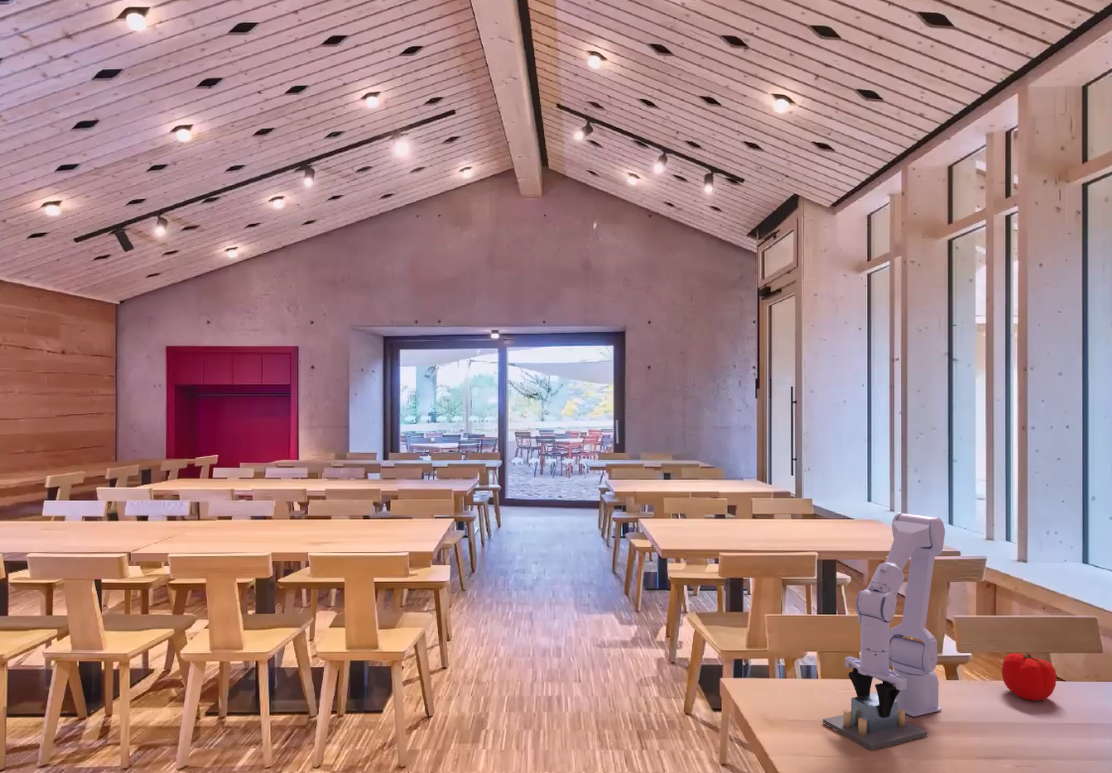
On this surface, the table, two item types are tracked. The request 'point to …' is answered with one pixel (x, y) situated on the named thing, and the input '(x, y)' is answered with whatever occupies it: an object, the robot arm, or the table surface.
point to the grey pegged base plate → (876, 739)
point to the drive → (872, 713)
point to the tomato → (1028, 676)
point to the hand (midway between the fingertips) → (874, 711)
